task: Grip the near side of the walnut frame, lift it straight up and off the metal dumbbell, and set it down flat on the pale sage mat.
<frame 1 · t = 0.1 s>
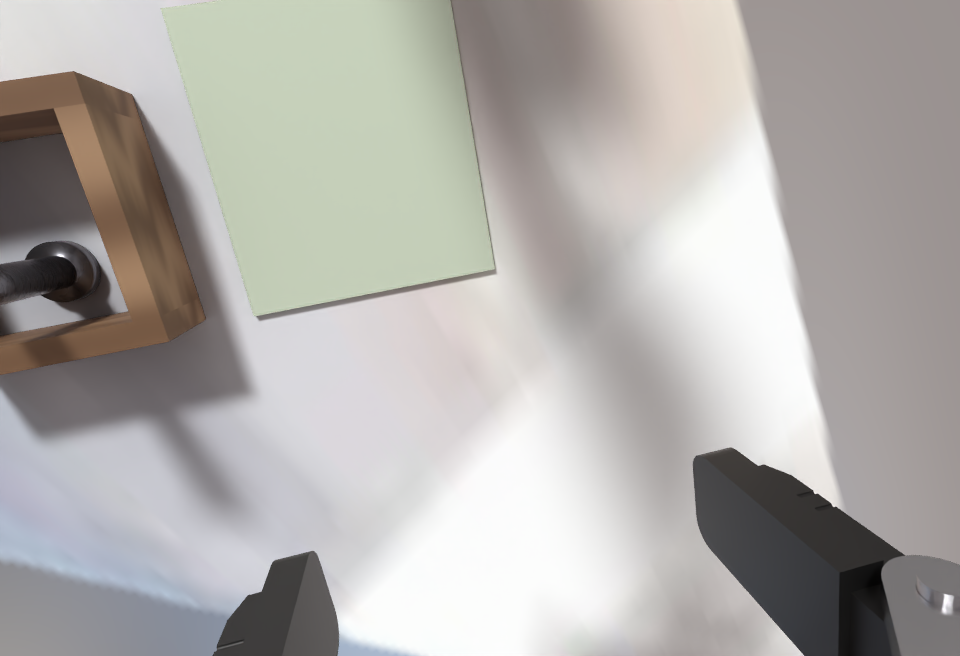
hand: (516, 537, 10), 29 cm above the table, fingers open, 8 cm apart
walnut frame: (53, 233, 34), on the table
sage mat: (345, 152, 35), on the table
metal dumbbell: (68, 270, 34), on the table
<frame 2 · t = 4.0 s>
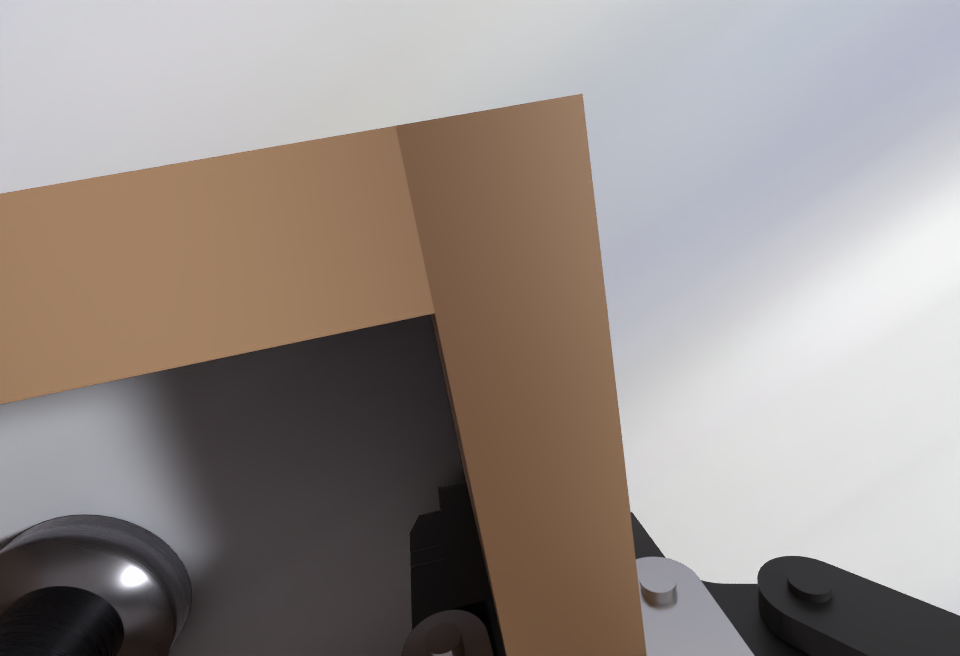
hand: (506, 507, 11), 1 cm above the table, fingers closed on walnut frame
walnut frame: (209, 566, 11), on the table, touching gripper
metal dumbbell: (93, 595, 11), on the table
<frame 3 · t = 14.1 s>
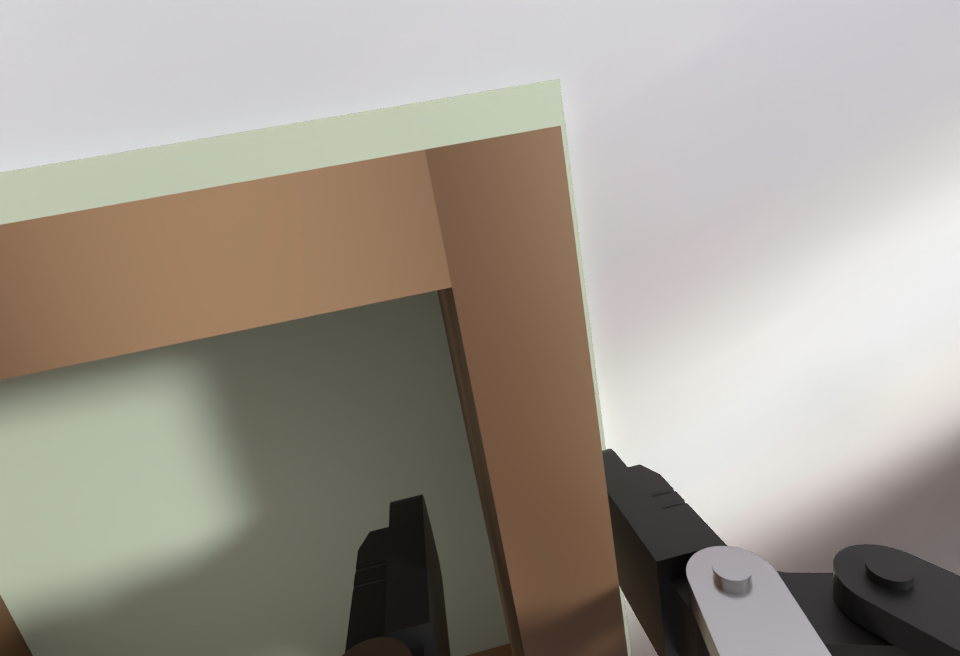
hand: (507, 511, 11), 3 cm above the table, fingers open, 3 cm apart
walnut frame: (245, 523, 13), resting on sage mat
sage mat: (235, 514, 13), on the table
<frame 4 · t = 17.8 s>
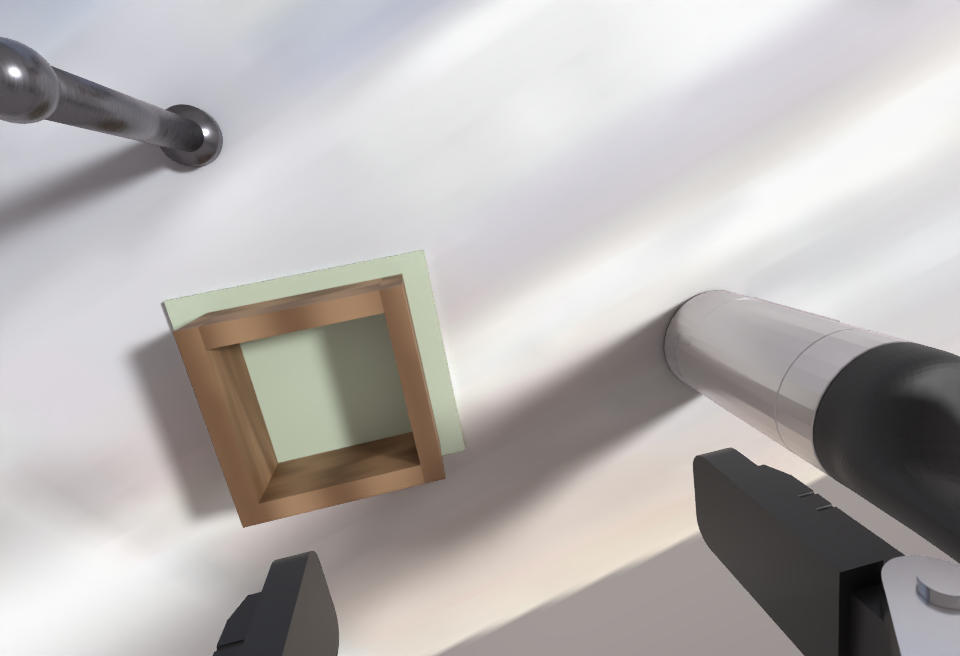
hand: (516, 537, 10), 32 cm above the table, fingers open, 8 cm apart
walnut frame: (331, 381, 41), resting on sage mat
sage mat: (327, 380, 42), on the table
metal dumbbell: (192, 137, 36), on the table
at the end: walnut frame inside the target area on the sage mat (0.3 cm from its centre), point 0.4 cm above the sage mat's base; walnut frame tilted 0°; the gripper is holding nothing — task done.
